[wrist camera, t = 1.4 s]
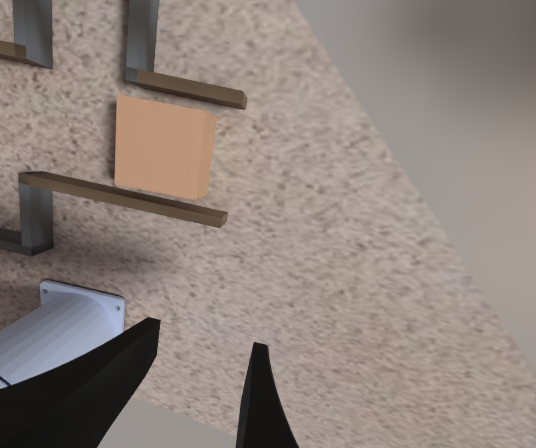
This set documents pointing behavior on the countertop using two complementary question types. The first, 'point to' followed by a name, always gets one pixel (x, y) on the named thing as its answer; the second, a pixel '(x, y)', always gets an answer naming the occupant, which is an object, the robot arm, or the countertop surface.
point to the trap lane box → (137, 72)
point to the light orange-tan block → (163, 147)
